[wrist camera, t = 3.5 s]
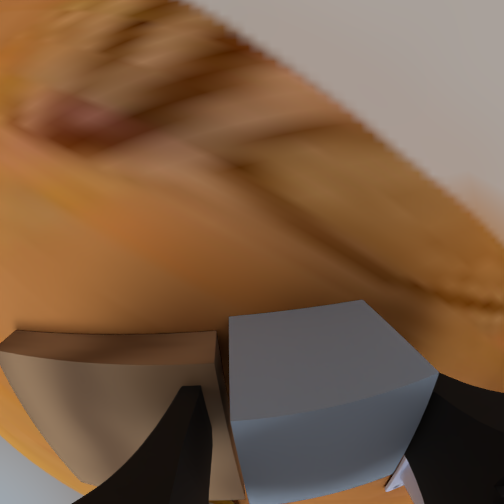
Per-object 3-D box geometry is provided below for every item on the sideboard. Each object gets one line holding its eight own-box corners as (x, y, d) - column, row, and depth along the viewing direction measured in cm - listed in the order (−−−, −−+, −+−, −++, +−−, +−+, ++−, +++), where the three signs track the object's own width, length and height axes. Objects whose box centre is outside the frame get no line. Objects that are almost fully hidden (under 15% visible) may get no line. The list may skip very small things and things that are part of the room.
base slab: (216, 330, 10) (214, 363, 8) (243, 472, 12) (245, 499, 10) (15, 330, 9) (-7, 349, 7) (89, 460, 11) (81, 481, 9)
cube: (361, 298, 10) (439, 372, 5) (349, 394, 11) (392, 473, 6) (228, 315, 10) (230, 421, 5) (242, 412, 11) (250, 507, 6)
